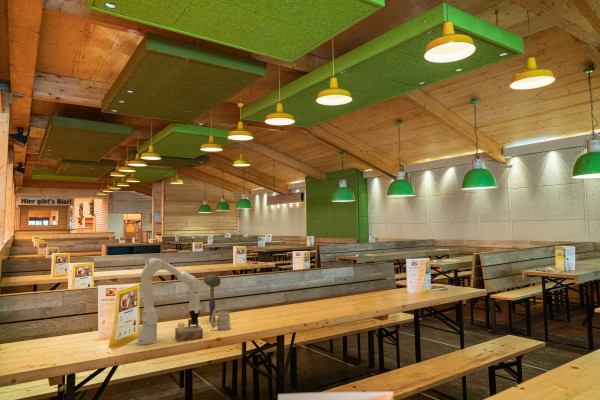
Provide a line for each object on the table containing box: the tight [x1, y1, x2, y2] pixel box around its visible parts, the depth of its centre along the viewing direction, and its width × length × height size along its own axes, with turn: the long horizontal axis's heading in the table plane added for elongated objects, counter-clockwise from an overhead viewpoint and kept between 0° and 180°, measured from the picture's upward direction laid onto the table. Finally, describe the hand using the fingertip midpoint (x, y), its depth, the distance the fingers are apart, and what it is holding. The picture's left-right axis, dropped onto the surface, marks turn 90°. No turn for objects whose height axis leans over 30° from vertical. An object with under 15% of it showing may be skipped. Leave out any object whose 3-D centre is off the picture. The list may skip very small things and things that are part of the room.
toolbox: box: [174, 318, 204, 343], centre depth 214 cm, size 13×16×8 cm
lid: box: [174, 321, 203, 334], centre depth 211 cm, size 13×10×4 cm
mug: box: [209, 309, 231, 331], centre depth 229 cm, size 8×12×12 cm, turn 116°
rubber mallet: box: [204, 274, 221, 323], centre depth 249 cm, size 12×8×30 cm, turn 34°
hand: (194, 323), depth 218 cm, fingers closed
